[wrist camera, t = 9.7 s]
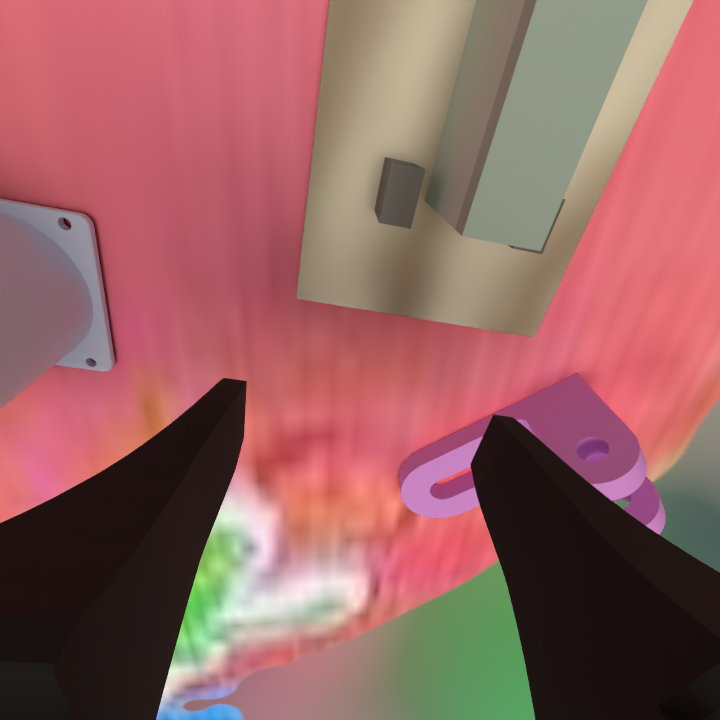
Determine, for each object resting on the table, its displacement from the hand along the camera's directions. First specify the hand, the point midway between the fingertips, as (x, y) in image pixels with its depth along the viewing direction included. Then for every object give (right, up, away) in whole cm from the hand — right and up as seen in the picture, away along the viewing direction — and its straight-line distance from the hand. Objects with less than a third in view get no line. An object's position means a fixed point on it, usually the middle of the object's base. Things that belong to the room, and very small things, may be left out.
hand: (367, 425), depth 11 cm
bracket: (+8, -4, +14) cm, 17 cm away
